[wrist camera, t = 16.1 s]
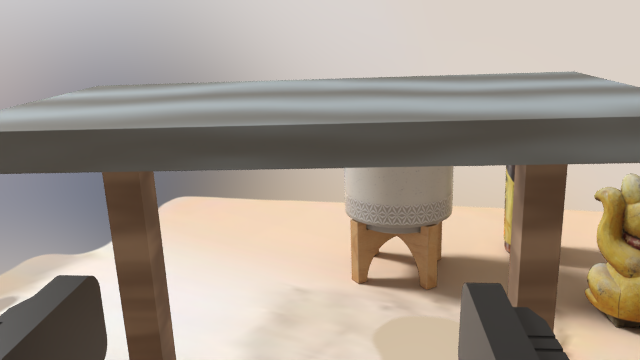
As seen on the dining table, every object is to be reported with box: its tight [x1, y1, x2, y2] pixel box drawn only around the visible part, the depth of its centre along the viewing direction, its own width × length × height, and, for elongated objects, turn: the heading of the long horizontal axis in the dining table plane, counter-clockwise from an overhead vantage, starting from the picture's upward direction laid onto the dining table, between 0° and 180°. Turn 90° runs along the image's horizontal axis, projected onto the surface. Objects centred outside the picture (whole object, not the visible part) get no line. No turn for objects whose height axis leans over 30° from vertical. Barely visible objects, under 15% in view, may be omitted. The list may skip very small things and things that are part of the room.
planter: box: [344, 166, 453, 290], centre depth 69 cm, size 13×13×18 cm
